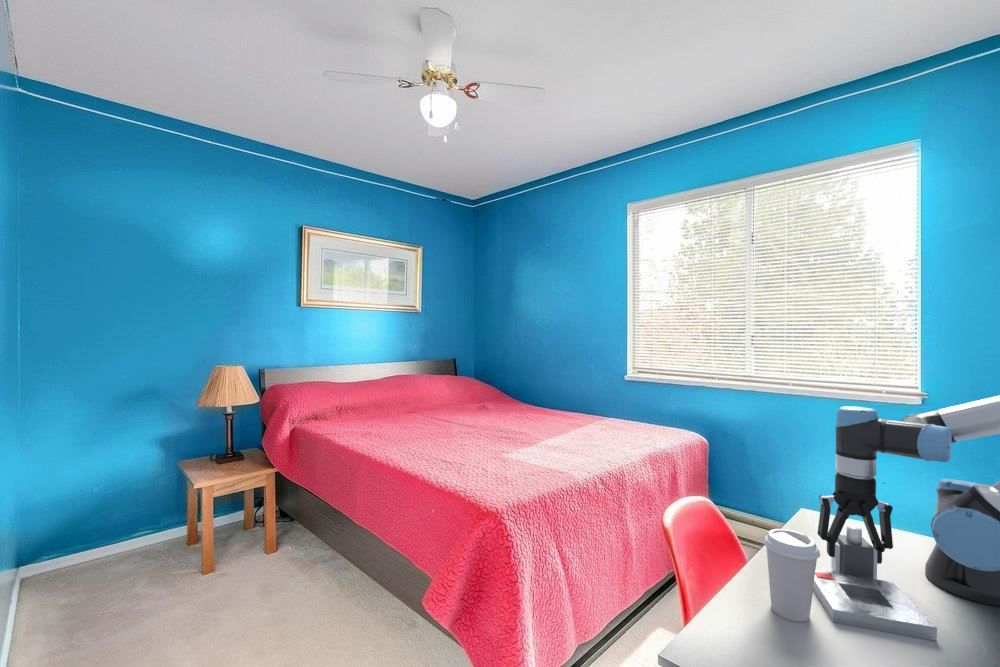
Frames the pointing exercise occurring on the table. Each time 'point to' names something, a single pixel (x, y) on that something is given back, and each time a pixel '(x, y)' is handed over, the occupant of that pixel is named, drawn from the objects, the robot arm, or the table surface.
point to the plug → (855, 554)
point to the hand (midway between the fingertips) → (853, 573)
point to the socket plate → (871, 605)
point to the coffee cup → (791, 572)
